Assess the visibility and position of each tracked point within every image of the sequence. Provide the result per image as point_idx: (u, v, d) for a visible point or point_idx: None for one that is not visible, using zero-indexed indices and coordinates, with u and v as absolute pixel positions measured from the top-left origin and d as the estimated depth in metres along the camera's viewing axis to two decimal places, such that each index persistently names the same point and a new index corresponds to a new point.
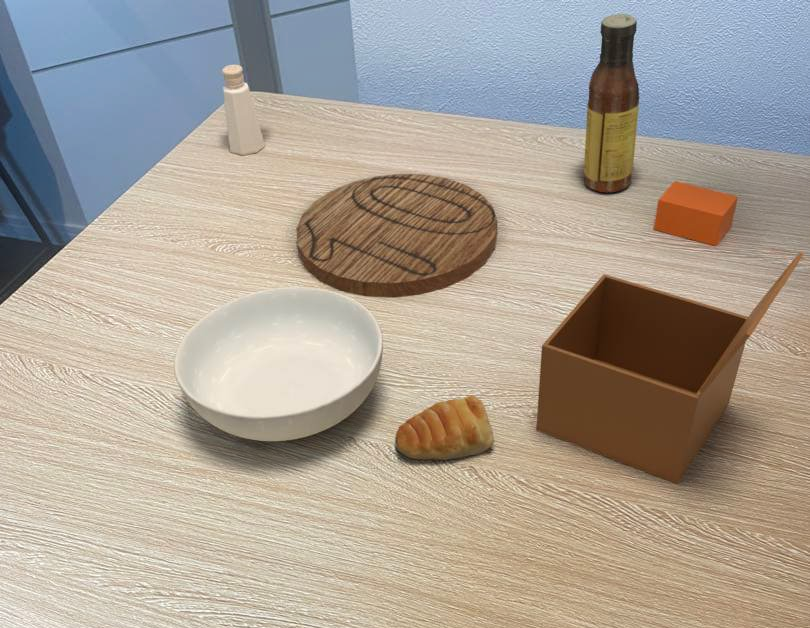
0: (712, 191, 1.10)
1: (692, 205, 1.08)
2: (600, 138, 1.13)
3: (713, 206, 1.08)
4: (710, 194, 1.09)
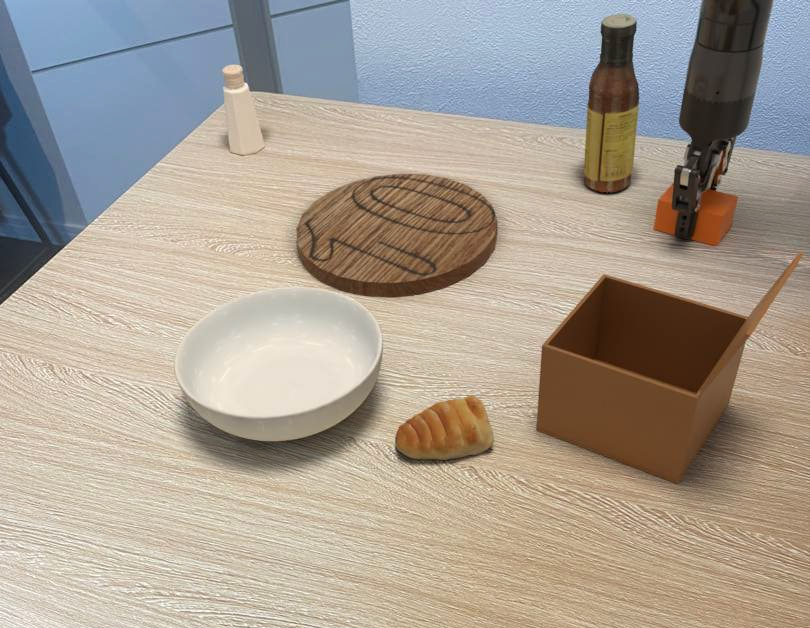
0: (712, 191, 1.10)
1: None
2: (600, 138, 1.13)
3: (713, 206, 1.08)
4: (710, 194, 1.09)
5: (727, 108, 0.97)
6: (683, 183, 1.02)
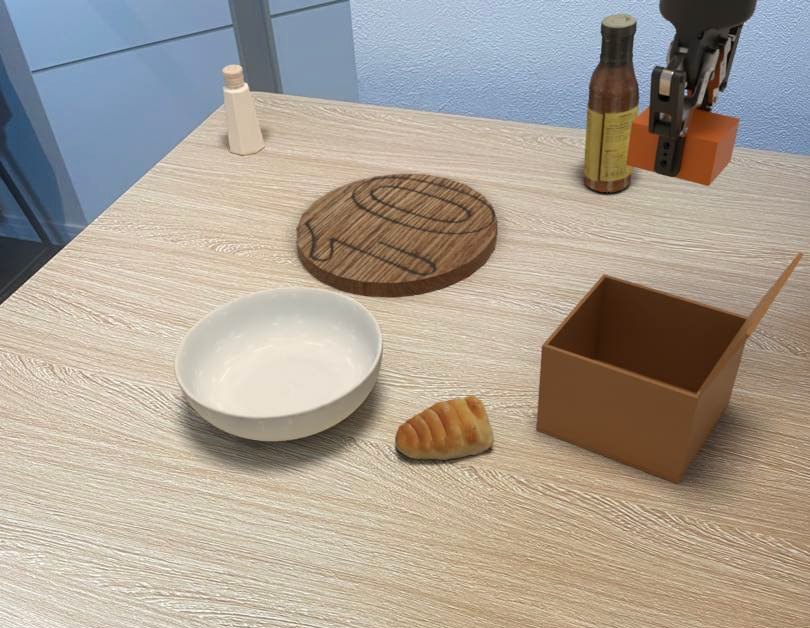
0: (705, 113, 0.81)
1: None
2: (600, 138, 1.13)
3: (706, 130, 0.79)
4: (702, 116, 0.81)
5: None
6: (663, 92, 0.74)
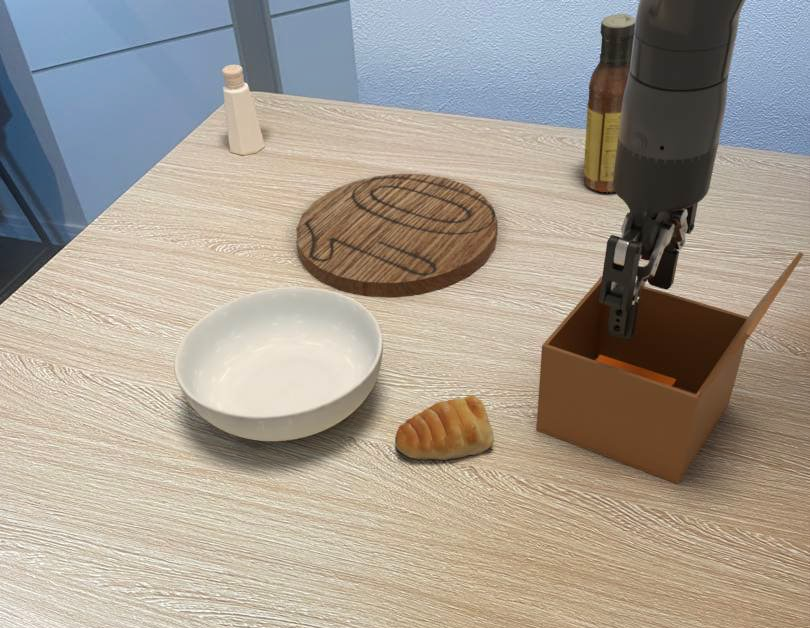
0: (645, 372, 0.89)
1: None
2: (600, 138, 1.13)
3: None
4: (642, 376, 0.88)
5: (676, 168, 0.68)
6: (618, 261, 0.72)
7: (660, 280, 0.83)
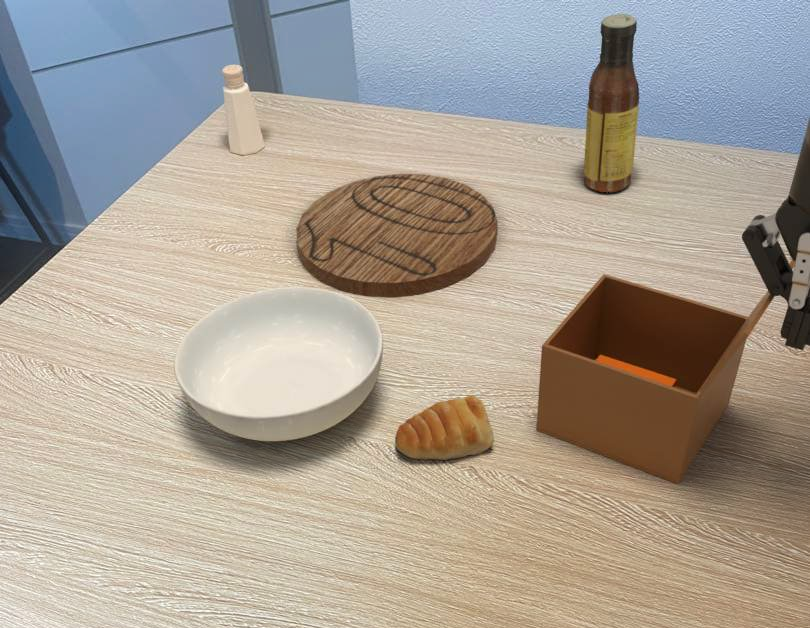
0: (645, 372, 0.89)
1: None
2: (600, 138, 1.13)
3: None
4: (642, 376, 0.88)
5: (804, 153, 0.63)
6: None
7: None
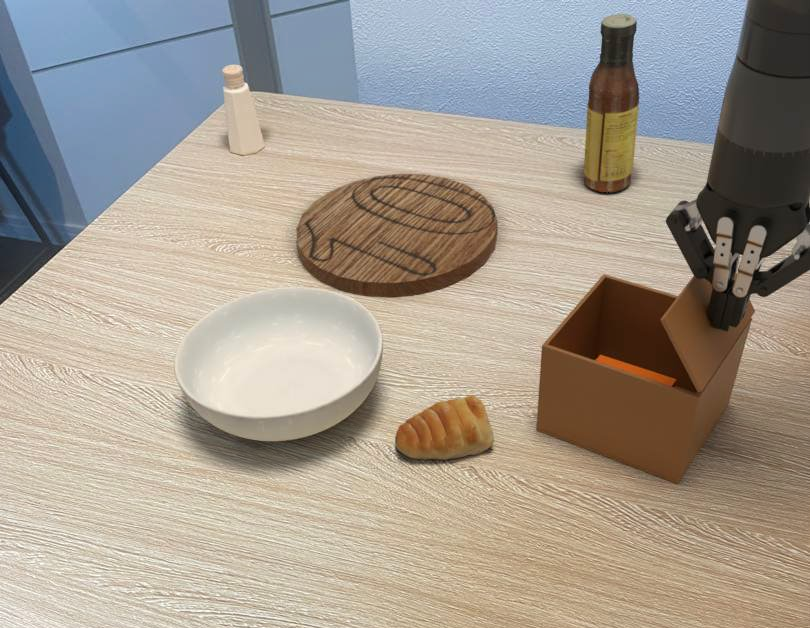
0: (645, 372, 0.89)
1: None
2: (600, 138, 1.13)
3: None
4: (642, 376, 0.88)
5: (717, 140, 0.66)
6: None
7: None
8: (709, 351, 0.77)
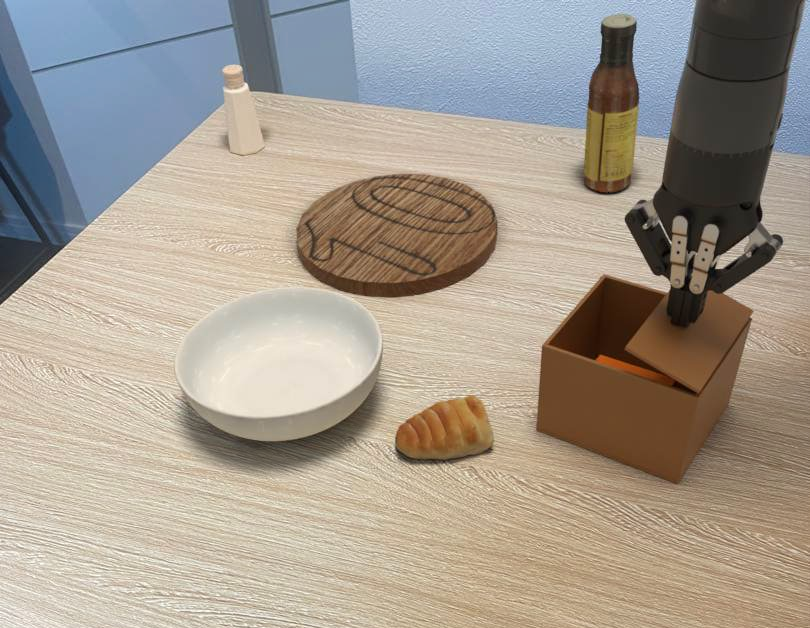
0: (645, 372, 0.89)
1: None
2: (600, 138, 1.13)
3: None
4: (642, 376, 0.88)
5: (670, 141, 0.68)
6: None
7: None
8: (698, 356, 0.78)
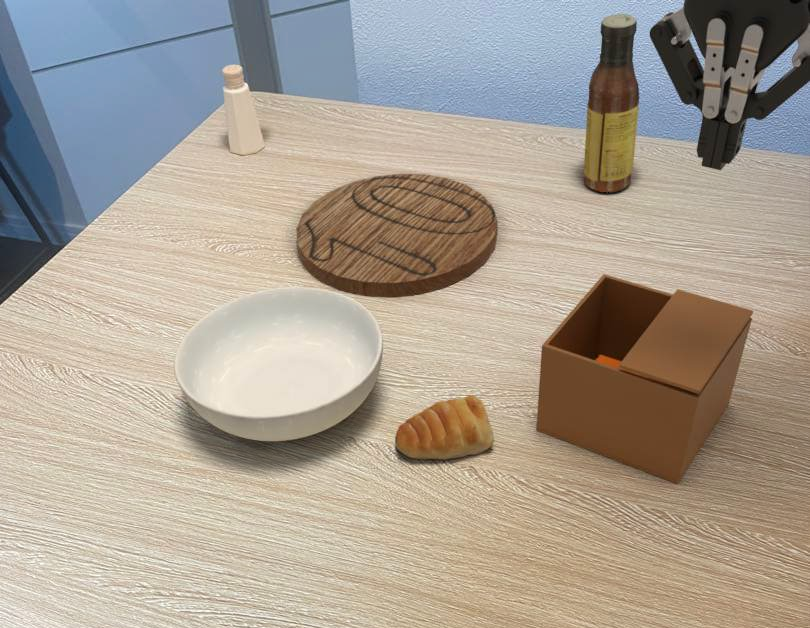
0: None
1: None
2: (600, 138, 1.13)
3: None
4: (642, 376, 0.88)
5: None
6: None
7: None
8: (696, 360, 0.79)
